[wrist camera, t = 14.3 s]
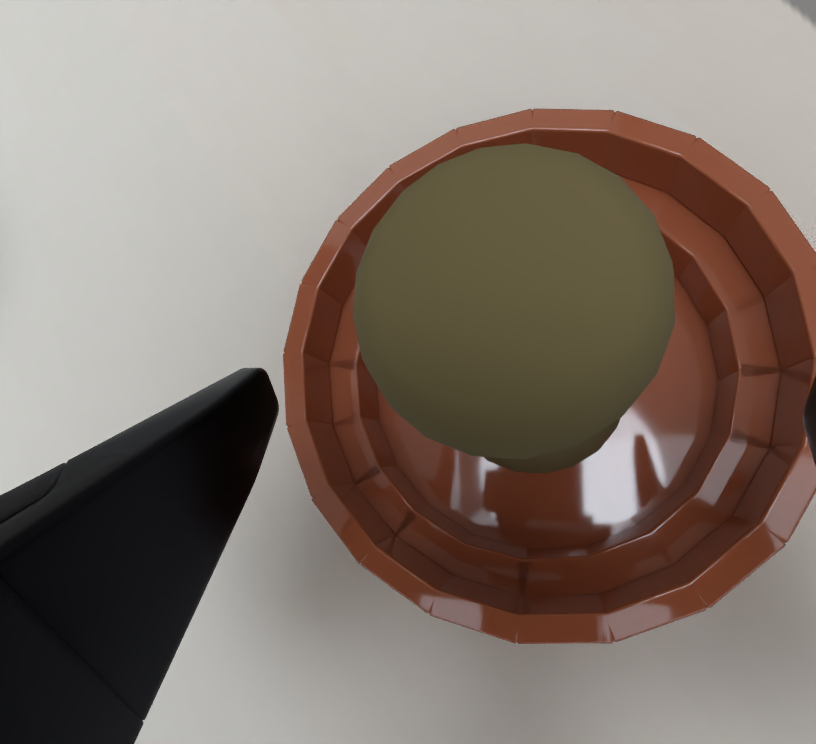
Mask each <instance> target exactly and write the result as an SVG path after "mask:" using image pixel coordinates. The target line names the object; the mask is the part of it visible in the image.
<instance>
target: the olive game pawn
mask: <svg viewBox="0 0 816 744" xmlns="http://www.w3.org/2000/svg"><path fill="white" fill-rule="evenodd" d="M353 321H354V325H355V329H356V334H357V338H358V342H359V347H360V351H361V356H362V360H363V362H364V364H365V366H366V368H367V369H368V371H369V373H370V374H371V376H372V378H373V379H374V381H375V383H376V384H377V386H378V388H379V389H380V391H381V393H382V394H383V396H384V398H385V399H386V401H387V402H388V404H389V406H390V407H391V408H392V409H393V410H394V411H395V412H397V413H398V414H399V415H400V416H401V417H402V418H404V419H405V420H406V421H407V422H408V423H410V424H411V425H412V426H413V427H414V428H415V429H417V430H418V431H419V432H420V433H421V434H423V435H424V436H425V437H426V438H428V439H431V440H433V441H436V442H438V443H441V444H443V445H446V446H448V447H451V448H453V449H456V450H458V451H461V452H463V453H466V454H468V455H471V456H479V457H484V458H485V459H486V460H487V461H489V462H492V463H494V464H497V465H499V466H502V467H504V468H507V469H509V470H512V471H514V472H527V473H541V474H545V473H549V472H553V471H557V470H561V469H565V468H569V467H573V466H575V465H576V464H578V463H580V462H581V461H583V460H584V459H586V458H588V457H589V456H591V455H592V454H594V453H596V452H597V451H599V449H600V448H601V447H602V446H603V444H604V443H605V442H606V441H607V440H608V438H609V437H610V436H611V435H612V433H613V432H614V431H615V430H616V428H617V427H618V424H619V421H620V418H621V417H623V416H624V414H625V413H626V412H627V411H628V409H629V408H630V407H631V406H632V404H633V403H634V402H635V401H636V400H637V398H638V397H639V396H640V395H641V393H642V392H643V391H644V390H645V388H646V387H647V386H648V385H649V383H650V382H651V381H652V380H653V379H654V377H655V376H656V375H657V373H658V370H659V367H660V364H661V361H662V359H663V356H664V353H665V350H666V347H667V344H668V342H669V339H670V336H671V333H672V330H673V328H674V325H675V303H674V269H673V263H672V260H671V257H670V254H669V252H668V249H667V247H666V244H665V242H664V239H663V237H662V234H661V231H660V229H659V226H658V224H657V221H656V219H655V216H654V214H653V213H652V212H651V210H650V209H649V208H648V207H647V206H646V205H645V204H644V203H643V202H642V200H641V199H640V198H639V197H638V196H637V195H636V194H635V193H634V191H633V190H632V189H631V188H630V187H629V186H628V185H627V184H626V182H625V181H624V180H623V179H622V178H621V177H620V176H618V175H616V174H614V173H612V172H611V171H609V170H607V169H605V168H603V167H601V166H600V165H598V164H596V163H594V162H592V161H591V160H589V159H587V158H585V157H583V156H582V155H580V154H578V153H573V152H568V151H563V150H558V149H553V148H547V147H542V146H537V145H532V144H526V143H523V144H513V145H503V146H493V147H483V148H478V149H476V150H473V151H471V152H468V153H466V154H463V155H460V156H458V157H455V158H453V159H450V160H448V161H445V162H443V163H440V164H438V165H437V166H435V167H434V168H433V169H431V170H430V171H429V172H427V173H426V174H425V175H423V176H422V177H421V178H419V179H418V180H417V181H415V182H414V183H413V184H411V185H410V186H409V187H407V188H406V189H405V190H403V191H402V193H401V194H400V195H399V197H398V198H397V199H396V201H395V202H394V203H393V204H392V206H391V207H390V208H389V210H388V211H387V212H386V214H385V215H384V216H383V217H382V219H381V220H380V221H379V223H378V224H377V225H376V227H375V228H374V229H373V231H372V233H371V236H370V239H369V241H368V244H367V246H366V249H365V251H364V254H363V256H362V259H361V261H360V264H359V266H358V269H357V271H356V280H355V293H354V305H353Z"/></svg>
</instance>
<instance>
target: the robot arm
mask: <svg viewBox="0 0 816 744" xmlns="http://www.w3.org/2000/svg"><path fill="white" fill-rule="evenodd" d="M278 411H279V405H278V400H277V397H276V395H275V392H274V389H273V387H272V384H271V382H270V379H269V376H268V374H267V372H266V371H265V370H264V369H262V368H243V369H240V370H238V371H236V372H234V373H233V374H231V375H229V376H227V377H225V378H223V379H221V380H219V381H217V382H216V383H214V384H212V385H210V386H208V387H206V388H204V389H202V390H200V391H199V392H197V393H195V394H193V395H191V396H189V397H187V398H185V399H183V400H182V401H180V402H178V403H176V404H174V405H172V406H170V407H168V408H166V409H165V410H163V411H161V412H159V413H157V414H155V415H153V416H151V417H149V418H148V419H146V420H144V421H142V422H140V423H138V424H136V425H134V426H132V427H131V428H129V429H127V430H125V431H123V432H121V433H119V434H117V435H115V436H114V437H112V438H110V439H108V440H106V441H104V442H102V443H100V444H98V445H97V446H95V447H93V448H91V449H89V450H87V451H85V452H83V453H81V454H80V455H78V456H76V457H74V458H72V459H70V460H68V462H67V463H62V464H60V465H59V466H57V467H55V468H53V469H51V470H49V471H47V472H45V473H44V474H42V475H40V476H38V477H36V478H34V479H32V480H30V481H28V482H26V483H24V484H22V485H20V486H18V487H16V488H14V489H12V490H11V491H8V492H6V493H4V494H2V495H0V744H134V743H135V741H136V738H137V736H138V734H139V732H140V730H141V728H142V725H143V720H145V718H146V716H147V714H148V712H149V710H150V707H151V705H152V703H153V701H154V699H155V697H156V695H157V692H158V690H159V688H160V686H161V684H162V682H163V679H164V677H165V675H166V673H167V671H168V669H169V666H170V664H171V662H172V660H173V658H174V656H175V653H176V651H177V649H178V647H179V645H180V643H181V641H182V638H183V636H184V634H185V632H186V630H187V628H188V625H189V623H190V621H191V619H192V617H193V615H194V612H195V610H196V608H197V606H198V604H199V602H200V599H201V597H202V595H203V593H204V591H205V589H206V587H207V584H208V582H209V580H210V578H211V576H212V574H213V571H214V569H215V567H216V565H217V563H218V561H219V558H220V556H221V554H222V552H223V550H224V548H225V546H226V543H227V541H228V539H229V537H230V535H231V533H232V530H233V528H234V526H235V524H236V522H237V520H238V517H239V515H240V513H241V511H242V509H243V507H244V504H245V502H246V500H247V498H248V496H249V494H250V492H251V489H252V487H253V485H254V482H255V480H256V477H257V474H258V472H259V469H260V466H261V463H262V460H263V457H264V454H265V451H266V448H267V446H268V443H269V440H270V437H271V434H272V431H273V428H274V425H275V422H276V419H277V416H278ZM803 425H804V429H805V432H806V436H807V439H808V443H809V446H810V449H811V453H812V456H813V460H814V463H815V467H816V375H815V377H814V380H813V383H812V386H811V389H810V392H809V395H808V398H807V402H806V405H805V408H804V411H803Z"/></svg>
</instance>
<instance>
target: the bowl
mask: <svg viewBox="0 0 816 744" xmlns="http://www.w3.org/2000/svg"><path fill="white" fill-rule="evenodd" d="M523 143H526V144H532V145H537V146H542V147H547V148H553V149H558V150H563V151H568V152H573V153H578V154H580V155H582V156H583V157H585V158H587V159H589V160H591V161H592V162H594V163H596V164H598V165H600V166H601V167H603V168H605V169H607V170H609V171H611V172H612V173H614V174H616V175H618V176H620V177H621V178H622V179H623V180H624V181H625V182H626V184H627V185H628V186H629V187H630V188H631V189H632V190H633V191H634V193H635V194H636V195H637V196H638V197H639V198H640V199H641V200H642V202H643V203H644V204H645V205H646V206H647V207H648V208H649V209H650V210H651V212H652V213H653V214H654V216H655V219H656V221H657V224H658V226H659V229H660V231H661V234H662V237H663V239H664V242H665V244H666V247H667V249H668V252H669V254H670V257H671V260H672V263H673V269H674V303H675V325H674V328H673V330H672V333H671V336H670V339H669V342H668V344H667V347H666V350H665V353H664V356H663V359H662V361H661V364H660V367H659V370H658V373H657V375H656V376H655V377H654V379H653V380H652V381H651V382H650V383H649V385H648V386H647V387H646V388H645V390H644V391H643V392H642V393H641V395H640V396H639V397H638V398H637V400H636V401H635V402H634V403H633V404H632V406H631V407H630V408H629V409H628V411H627V412H626V413H625V414H624V416H623V417H621V418H620V421H619V424H618V427H617V428H616V430H615V431H614V432H613V433H612V435H611V436H610V437H609V438H608V440H607V441H606V442H605V443H604V444H603V446H602V447H601V448H600V449H599V451H597V452H596V453H594V454H592V455H591V456H589V457H588V458H586V459H584V460H583V461H581V462H580V463H578V464H576V465H575V466H573V467H569V468H565V469H561V470H557V471H553V472H549V473H545V474H541V473H527V472H514V471H512V470H509V469H507V468H504V467H502V466H499V465H497V464H494V463H492V462H489V461H487V460H486V459H485V458H484V457H479V456H471V455H468V454H466V453H463V452H461V451H458V450H456V449H453V448H451V447H448V446H446V445H443V444H441V443H438V442H436V441H433V440H431V439H428V438H426V437H425V436H424V435H423V434H421V433H420V432H419V431H418V430H417V429H415V428H414V427H413V426H412V425H411V424H410V423H408V422H407V421H406V420H405V419H404V418H402V417H401V416H400V415H399V414H398V413H397V412H395V411H394V410H393V409H392V408H391V407H390V406H389V404H388V402H387V401H386V399H385V398H384V396H383V394H382V393H381V391H380V389H379V388H378V386H377V384H376V383H375V381H374V379H373V378H372V376H371V374H370V373H369V371H368V369H367V368H366V366H365V364H364V362H363V360H362V356H361V351H360V347H359V342H358V338H357V334H356V329H355V325H354V321H353V305H354V293H355V280H356V271H357V269H358V266H359V264H360V261H361V259H362V256H363V254H364V251H365V249H366V246H367V244H368V241H369V239H370V236H371V233H372V231H373V229H374V228H375V227H376V225H377V224H378V223H379V221H380V220H381V219H382V217H383V216H384V215H385V214H386V212H387V211H388V210H389V208H390V207H391V206H392V204H393V203H394V202H395V201H396V199H397V198H398V197H399V195H400V194H401V193H402V191H403V190H405V189H406V188H407V187H409V186H410V185H411V184H413V183H414V182H415V181H417V180H418V179H419V178H421V177H422V176H423V175H425V174H426V173H427V172H429V171H430V170H431V169H433V168H434V167H435V166H437V165H438V164H440V163H443V162H445V161H448V160H450V159H453V158H455V157H458V156H460V155H463V154H466V153H468V152H471V151H473V150H476V149H478V148H483V147H493V146H503V145H513V144H523ZM769 190H770V188H769V187H768V186H767V185H765V184H764V183H762V182H761V181H760V180H758V179H757V178H755V177H754V176H753V175H751V174H750V173H748V172H747V171H746V170H744V169H743V168H741V167H740V166H739V165H737V164H736V163H734V162H733V161H732V160H730V159H729V158H727V157H726V156H725V155H723V154H722V153H720V152H719V151H718V150H716V149H715V148H713V147H712V146H711V145H709V144H708V143H706V142H705V141H704V140H702V139H701V138H697V139H696V136H694V135H691V134H687V133H684V132H681V131H678V130H675V129H672V128H669V127H666V126H663V125H659V124H656V123H653V122H650V121H647V120H644V119H641V118H638V117H634V116H631V115H628V114H625V113H622V112H619V111H616V112H614V111H613V110H578V109H533V111H532V109H528V110H524V111H520V112H517V113H513V114H509V115H505V116H501V117H497V118H493V119H490V120H486V121H482V122H478V123H474V124H470V125H466V126H462V127H459V128H457V129H456V130H455V129H453V130H451V131H449V132H448V133H446V134H444V135H442V136H441V137H439V138H437V139H435V140H434V141H432V142H430V143H428V144H427V145H425V146H423V147H421V148H420V149H418V150H416V151H414V152H413V153H411V154H409V155H407V156H406V157H404V158H402V159H400V160H399V161H397V162H395V163H393V164H392V165H390V168H387V169H386V170H385V171H384V172H383V173H382V174H381V175H380V176H379V177H378V178H377V179H376V180H375V181H374V182H373V183H372V184H371V185H370V186H369V187H368V188H367V189H366V190H365V191H364V192H363V193H362V194H361V195H360V196H359V197H358V198H357V199H356V200H355V201H354V202H353V203H352V204H351V205H350V206H349V207H348V208H347V209H346V210H345V211H344V212H343V213H342V214H341V215H340V216H339V217H338V220H336V221H335V222H334V224H333V226H332V228H331V230H330V231H329V233H328V235H327V237H326V238H325V240H324V242H323V244H322V245H321V247H320V249H319V251H318V252H317V254H316V256H315V258H314V260H313V261H312V263H311V265H310V267H309V268H308V270H307V272H306V274H305V275H304V277H303V279H302V283H301V284H300V287H299V291H298V295H297V299H296V303H295V307H294V311H293V315H292V319H291V323H290V328H289V332H288V336H287V340H286V344H285V348H284V354H283V362H284V385H285V408H286V425H287V426H288V427H287V429H288V432H289V435H290V438H291V441H292V444H293V447H294V449H295V452H296V455H297V458H298V461H299V464H300V467H301V470H302V472H303V475H304V478H305V481H306V484H307V487H308V490H309V492H310V495H311V497H312V498H313V499H312V501H313V502H314V503H315V505H316V506H317V508H318V509H319V510H320V512H321V513H322V514H323V516H324V517H325V518H326V520H327V521H328V522H329V524H330V525H331V527H332V528H333V529H334V531H335V532H336V533H337V535H338V536H339V537H340V539H341V540H342V541H343V543H344V544H345V546H346V547H347V548H348V550H349V551H350V552H351V554H352V555H353V556H354V558H355V559H356V560H357V562H358V563H359V564H360V563H361V565H362V566H363V567H364V568H366V569H367V570H369V571H370V572H371V573H373V574H374V575H375V576H377V577H378V578H380V579H381V580H382V581H384V582H385V583H386V584H388V585H389V586H391V587H392V588H393V589H395V590H396V591H397V592H399V593H400V594H402V595H403V596H404V597H406V598H407V599H408V600H410V601H411V602H413V603H414V604H415V605H417V606H418V607H419V608H421V609H422V610H424V611H425V612H426V613H430V615H431V616H433V617H436V618H439V619H442V620H445V621H448V622H451V623H454V624H457V625H460V626H463V627H467V628H470V629H473V630H476V631H479V632H482V633H485V634H488V635H491V636H494V637H497V638H500V639H503V640H506V641H509V642H512V643H518V644H568V643H613V641H614V642H618V641H621V640H624V639H626V638H629V637H632V636H635V635H638V634H640V633H643V632H646V631H649V630H652V629H655V628H657V627H660V626H663V625H666V624H669V623H671V622H674V621H677V620H680V619H683V618H686V617H688V616H691V615H694V614H697V613H700V612H702V611H705V610H706V609H707V607H708V608H711V607H712V606H713V605H715V604H716V603H717V602H718V601H719V600H721V599H722V598H723V597H724V596H725V595H727V594H728V593H729V592H730V591H732V590H733V589H734V588H735V587H736V586H738V585H739V584H740V583H741V582H742V581H744V580H745V579H746V578H747V577H748V576H750V575H751V574H752V573H753V572H754V571H756V570H757V569H758V568H759V567H760V566H762V565H763V564H764V563H765V562H766V561H768V560H769V559H770V558H771V557H772V556H774V555H775V554H776V553H777V552H778V551H780V550H781V549H782V548H783V547H784V546H785V545H786V544H785V542H788V541H789V539H790V538H791V536H792V534H793V532H794V530H795V529H796V527H797V525H798V523H799V521H800V520H801V518H802V516H803V514H804V512H805V511H806V509H807V507H808V505H809V503H810V502H811V500H812V498H813V496H814V495H815V493H816V467H815V463H814V460H813V456H812V453H811V449H810V446H809V443H808V439H807V436H806V432H805V429H804V425H803V411H804V408H805V405H806V402H807V398H808V395H809V392H810V389H811V386H812V383H813V380H814V377H815V375H816V252H815V251H814V250H813V248H812V247H811V245H810V244H809V242H808V241H807V240H806V238H805V237H804V235H803V234H802V232H801V231H800V230H799V228H798V227H797V225H796V224H795V223H794V221H793V220H792V218H791V217H790V215H789V214H788V213H787V211H786V210H785V208H784V207H783V206H782V204H781V203H780V201H779V200H778V198H777V197H776V196H775V194H774V193H773V192H772V191H769Z"/></svg>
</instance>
